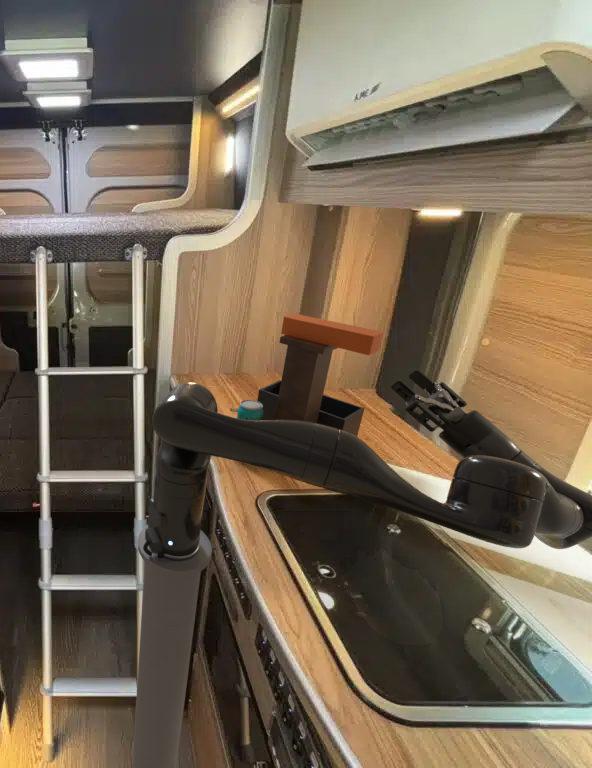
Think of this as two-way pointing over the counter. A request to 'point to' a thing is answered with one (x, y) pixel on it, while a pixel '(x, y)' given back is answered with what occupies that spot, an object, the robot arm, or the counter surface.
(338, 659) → the counter surface
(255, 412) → the beverage can
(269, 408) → the black storage bin
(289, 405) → the pedestal
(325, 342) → the orange rectangular bar
